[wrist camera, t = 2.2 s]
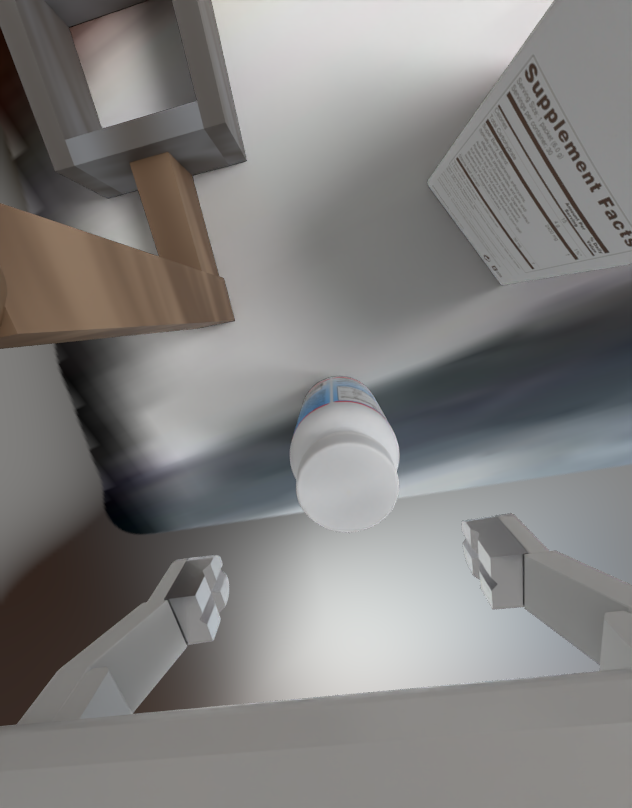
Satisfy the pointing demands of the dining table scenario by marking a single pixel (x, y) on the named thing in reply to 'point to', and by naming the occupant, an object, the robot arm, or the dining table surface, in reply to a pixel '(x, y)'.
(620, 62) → the supplement box
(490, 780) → the robot arm
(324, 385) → the pill bottle
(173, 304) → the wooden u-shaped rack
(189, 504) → the dining table surface
